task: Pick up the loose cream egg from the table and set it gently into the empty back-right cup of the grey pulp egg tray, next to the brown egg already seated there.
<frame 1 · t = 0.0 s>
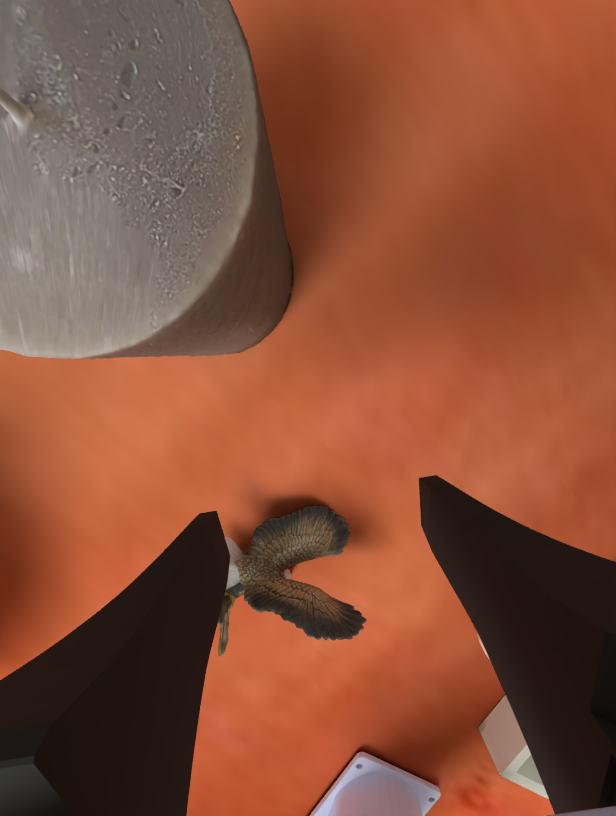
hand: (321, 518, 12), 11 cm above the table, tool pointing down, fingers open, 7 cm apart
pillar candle: (213, 274, 20), on the table
egg tray: (613, 698, 26), on the table
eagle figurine: (285, 547, 24), on the table
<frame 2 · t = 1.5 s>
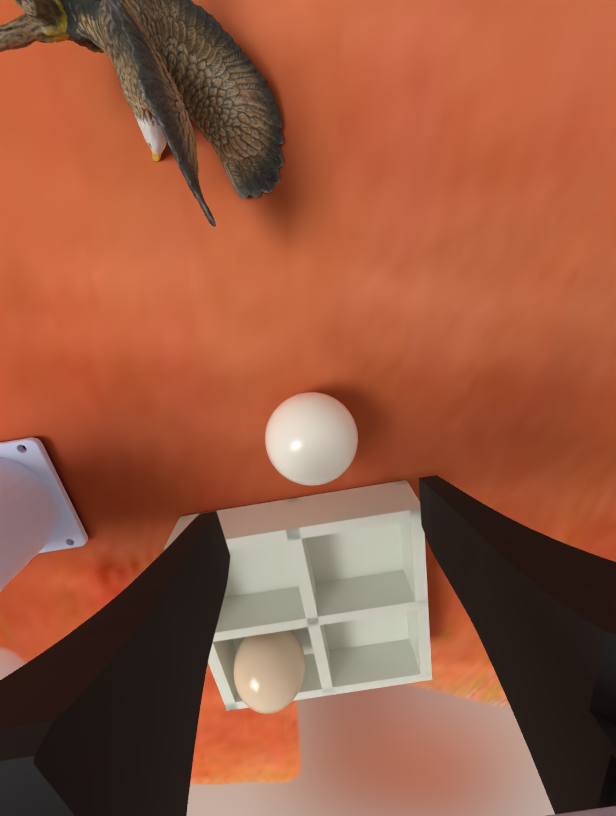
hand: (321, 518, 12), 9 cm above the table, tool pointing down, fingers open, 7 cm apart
cream egg: (309, 420, 20), on the table
egg tray: (310, 583, 25), on the table
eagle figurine: (185, 122, 15), on the table
brown egg: (272, 630, 26), resting on egg tray
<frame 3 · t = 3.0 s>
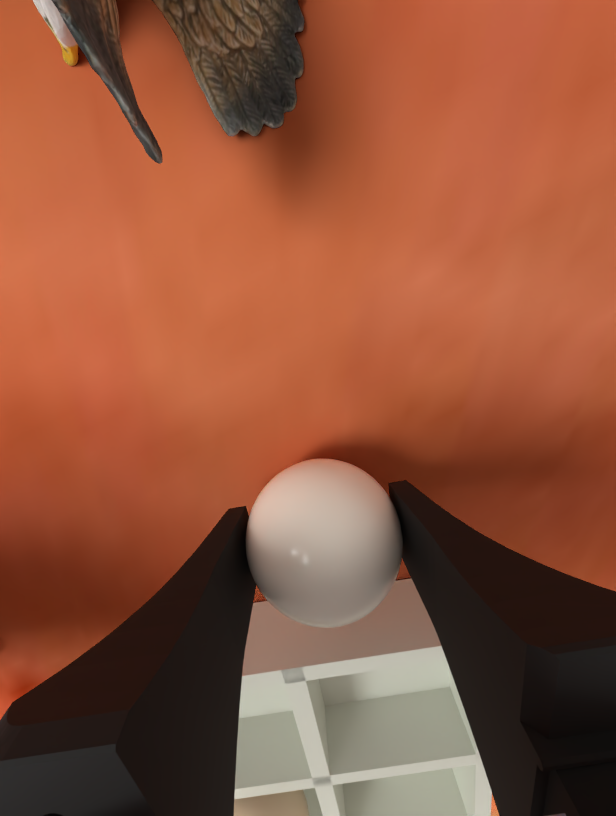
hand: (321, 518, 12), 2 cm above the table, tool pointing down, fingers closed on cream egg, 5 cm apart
cream egg: (318, 491, 13), on the table, touching gripper
egg tray: (317, 702, 18), on the table
brown egg: (263, 760, 18), resting on egg tray
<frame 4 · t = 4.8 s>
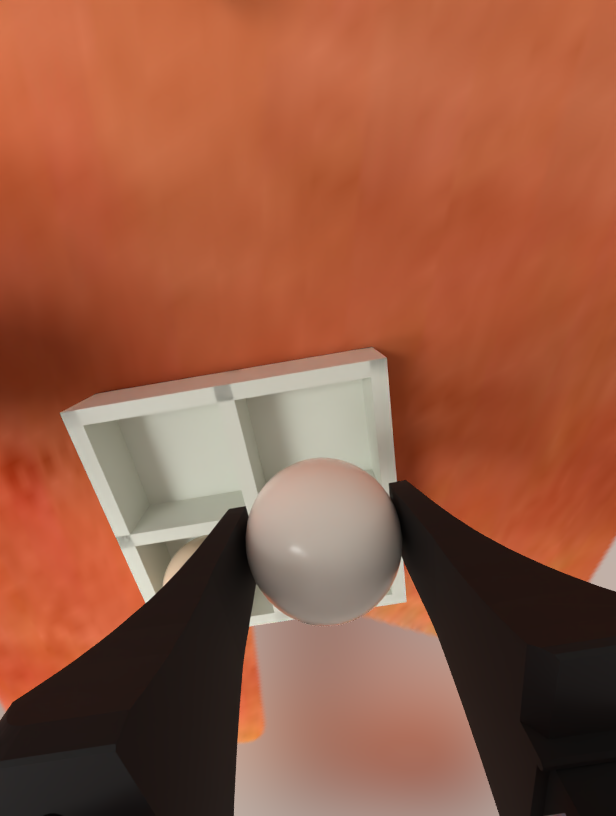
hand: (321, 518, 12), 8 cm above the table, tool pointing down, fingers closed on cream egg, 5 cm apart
cream egg: (318, 490, 13), point 7 cm above the table, touching gripper
egg tray: (262, 488, 21), on the table
brown egg: (218, 548, 22), resting on egg tray
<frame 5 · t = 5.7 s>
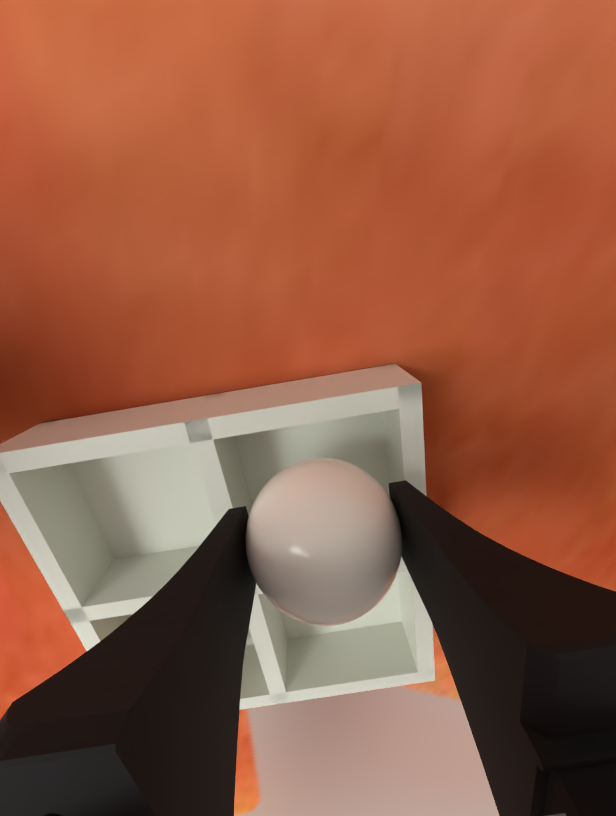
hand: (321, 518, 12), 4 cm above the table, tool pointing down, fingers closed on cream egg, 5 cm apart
cream egg: (318, 490, 13), point 2 cm above the table, touching gripper
egg tray: (254, 537, 17), on the table
when the fingers open (4 cm above the table, at t = 6.4 s): cream egg drops 2 cm, resting on egg tray.
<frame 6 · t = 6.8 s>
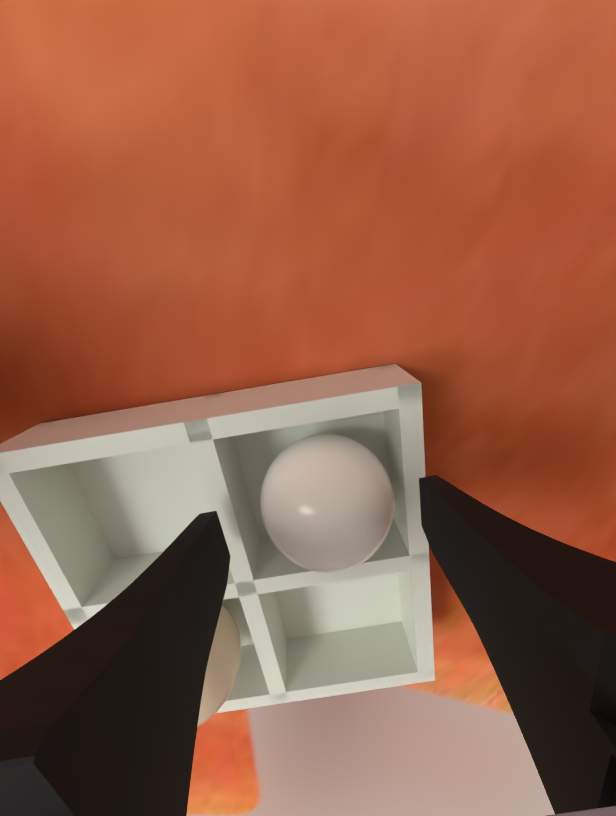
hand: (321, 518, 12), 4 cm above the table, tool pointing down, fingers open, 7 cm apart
cream egg: (314, 467, 15), resting on egg tray, tilted 7°
egg tray: (254, 537, 17), on the table
brown egg: (201, 608, 17), resting on egg tray
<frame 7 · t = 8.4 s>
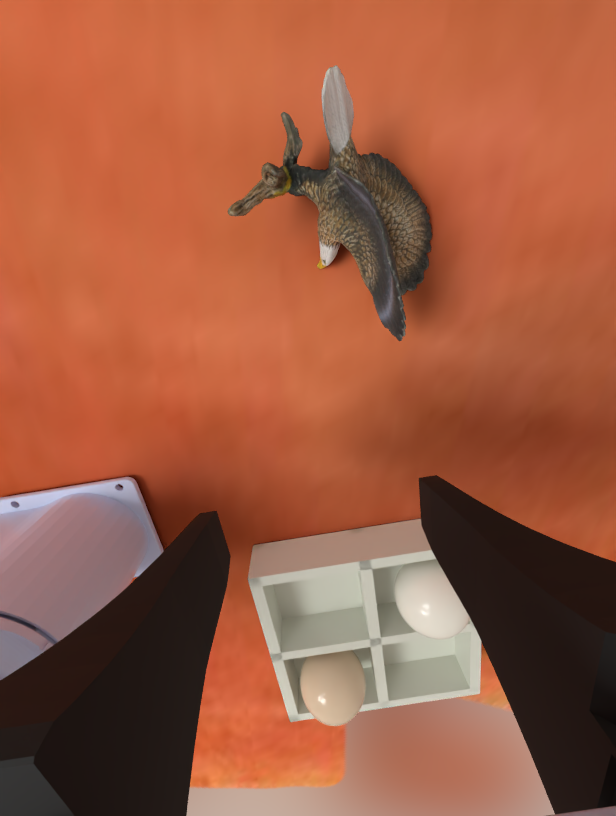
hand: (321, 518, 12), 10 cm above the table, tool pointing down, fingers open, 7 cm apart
cream egg: (411, 568, 25), resting on egg tray, tilted 14°
egg tray: (367, 604, 27), on the table
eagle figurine: (346, 235, 18), on the table
brown egg: (329, 647, 28), resting on egg tray
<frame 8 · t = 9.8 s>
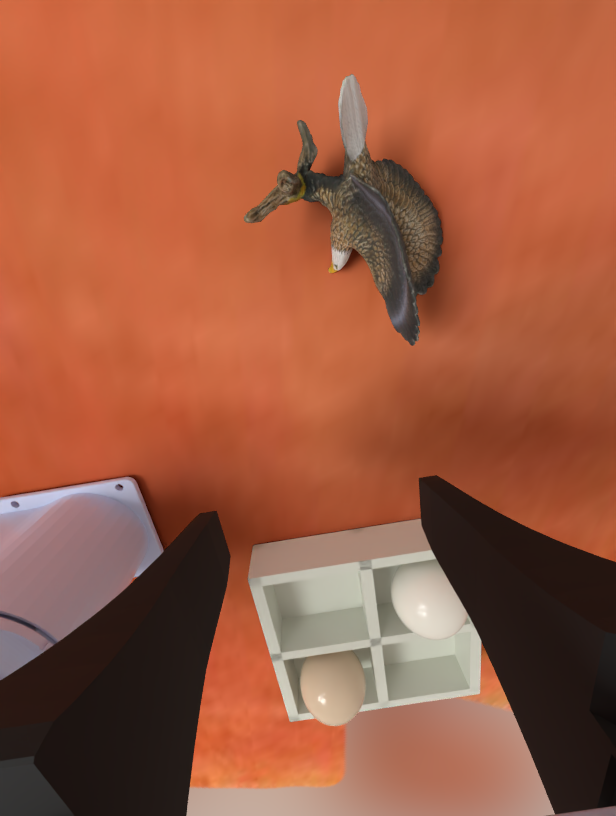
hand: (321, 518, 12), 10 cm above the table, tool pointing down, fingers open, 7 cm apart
cream egg: (410, 567, 25), resting on egg tray, tilted 9°
egg tray: (367, 604, 27), on the table
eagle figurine: (358, 240, 18), on the table
brown egg: (329, 647, 28), resting on egg tray
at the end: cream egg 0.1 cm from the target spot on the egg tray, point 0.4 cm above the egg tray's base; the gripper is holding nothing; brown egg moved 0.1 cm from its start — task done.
